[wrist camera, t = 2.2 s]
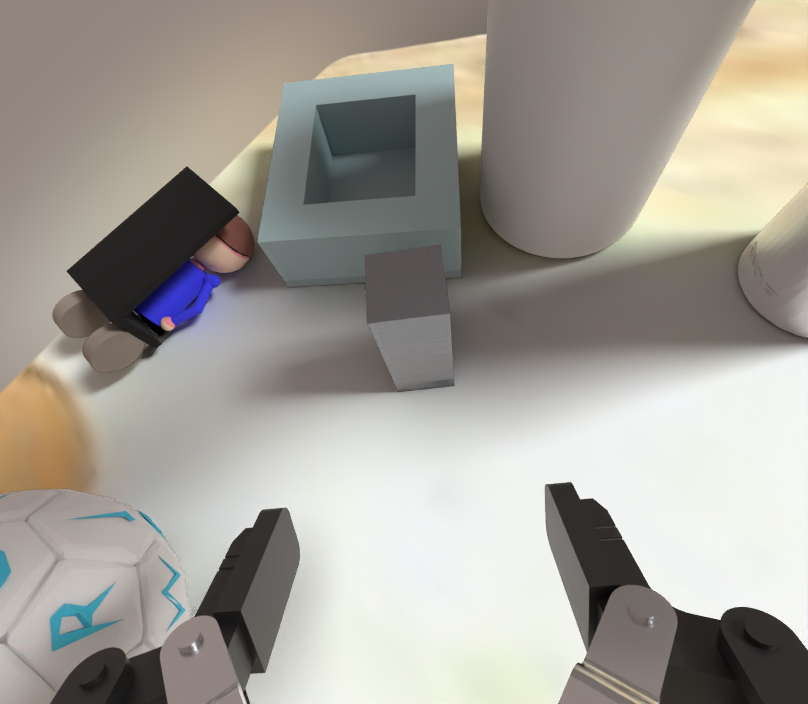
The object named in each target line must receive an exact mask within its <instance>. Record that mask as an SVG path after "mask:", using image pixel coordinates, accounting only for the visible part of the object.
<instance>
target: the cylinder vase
mask: <svg viewBox="0 0 808 704" xmlns="http://www.w3.org/2000/svg"><path fill="white" fill-rule="evenodd" d="M755 1H756V0H488V21H487V42H486V64H485V85H484V107H483V129H482V151H481V172H480V203H481V207H482V211H483V213H484V216H485V218H486V220H487V221H488V223H489V224H490V226H491V227H492V228H493V230H494V231H495V232H496V233H497V234H498V235H499V236H500V237H501V238H502V239H504V240H505V241H506V242H508V243H509V244H511V245H513V246H514V247H516V248H518V249H520V250H522V251H525V252H528V253H531V254H534V255H538V256H542V257H549V258H574V257H580V256H585V255H589V254H592V253H595V252H598V251H600V250H602V249H605V248H606V247H608V246H610V245H612V244H613V243H615V242H616V241H618V240H619V239H620V238H621V237H623V236H624V235H625V234H626V233H627V232H628V231H629V229H630V228H631V227H632V226H633V224H634V223H635V221H636V220H637V218H638V216H639V214H640V212H641V210H642V209H643V207H644V205H645V203H646V201H647V199H648V197H649V196H650V194H651V192H652V190H653V188H654V186H655V185H656V183H657V181H658V179H659V177H660V175H661V174H662V172H663V170H664V168H665V166H666V164H667V163H668V161H669V159H670V157H671V155H672V153H673V151H674V150H675V148H676V146H677V144H678V142H679V140H680V139H681V137H682V135H683V133H684V131H685V129H686V128H687V126H688V124H689V122H690V120H691V118H692V117H693V115H694V113H695V111H696V109H697V107H698V106H699V104H700V102H701V100H702V98H703V96H704V94H705V93H706V91H707V89H708V87H709V85H710V83H711V82H712V80H713V78H714V76H715V74H716V72H717V71H718V69H719V67H720V65H721V63H722V61H723V60H724V58H725V56H726V54H727V52H728V50H729V48H730V47H731V45H732V43H733V41H734V39H735V37H736V36H737V34H738V32H739V30H740V28H741V26H742V25H743V23H744V21H745V19H746V17H747V15H748V14H749V12H750V10H751V8H752V6H753V4H754V3H755Z"/></svg>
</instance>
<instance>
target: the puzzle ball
mask: <svg viewBox="0 0 808 704" xmlns="http://www.w3.org/2000/svg"><path fill="white" fill-rule="evenodd" d="M138 512H139V513H140V514H141V515H142V516H140V515H139V514H138V513H137V512H136V511H135V510H134V509H133V508H132V507H131V506H128V505H124V504H123V505H122V504H121V503H119V502H118V501H116V499H114V498H109V497H104V496H99V495H94V494H90V493H85V492H80V491H75V490H70V489H46V490H27V491H16V492H9V493H3V494H0V704H50V703H51V701H52V700H53V698H54V696H55V695H56V693H57V692H58V690H59V689H60V687H61V686H62V684H63V683H64V681H65V679H66V678H67V677H68V675H69V674H70V673H71V672H72V671H73V669H74V668H75V667H76V666H77V665H79V664H80V663H81V662H82V661H83V660H85V659H86V658H87V657H89V656H90V655H92V654H94V653H96V652H98V651H100V650H103V649H106V648H110V647H116V648H120V649H122V650H123V651H124V653H125V654H126V656H127V658H128V659H129V658H132V657H134V656H137V655H140V654H142V653H145V652H148V651H150V650H153V649H156V648H158V647H161V646H163V644H164V642H165V640H166V639H167V637H168V636H169V635H170V634H171V633H172V632H173V631H174V630H175V629H176V628H177V627H178V626H179V625H181V624H182V623H184V622H185V621H187V620H189V619H191V617H190V610H189V603H188V596H187V589H186V582H185V575H184V571H183V569H182V568H181V567H180V561H179V559H178V558H177V556H176V555H175V553H174V552H173V550H172V549H171V547H170V545H169V544H168V542H167V540H166V539H165V537H164V536H163V535H162V534H161V533H162V532H161V531H160V530H159V529H158V528H157V526H156V525H155V524H154V523H153V522H152V521H151V519H150V518H149V517H148V516H147V515H145V514H143V513H142V512H140V511H139V510H138Z"/></svg>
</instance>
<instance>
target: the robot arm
mask: <svg viewBox="0 0 808 704" xmlns="http://www.w3.org/2000/svg"><path fill="white" fill-rule="evenodd" d="M738 277H739V283H740V286H741V288H742V290H743V292H744V295H745V297H746V298H747V299H748V301H749V302H750V303H751V305H752V306H753V307H754V308H755V309H756V310H757V311H758V312H759V313H760V314H761V315H762V316H763V317H764V318H765V319H767V320H769V321H770V322H772V323H773V324H775V325H776V326H778V327H779V328H781V329H784V330H786V331H788V332H790V333H792V334H795V335H798V336H801V337H805V338H808V183H807V184H806V185H805V186H804V187H803V188H802V189H801V190H800V191H799V192H798V193H797V194H796V196H795V197H794V198H793V199H792V200H791V201H790V202H789V203H788V204H787V205H786V206H785V207H784V208H783V209H782V210H781V211H780V212H779V213H778V214H777V215H776V216H775V217H774V218H773V219H772V220H771V221H770V222H769V223H768V224H767V225H766V226H765V227H764V228H763V229H762V230H761V231H760V232H759V233H758V234H757V236H756V237H755V238H754V239H753V240H752V241H751V242H750V243H749V244H748V245H747V247H746V248H745V249H744V250H743V252H742V254H741V257H740V259H739V262H738ZM545 514H546V530H547V536H548V540H549V544H550V547H551V550H552V553H553V556H554V559H555V562H556V565H557V567H558V570H559V573H560V576H561V579H562V582H563V585H564V588H565V590H566V593H567V596H568V599H569V602H570V605H571V608H572V610H573V613H574V616H575V619H576V622H577V625H578V628H579V631H580V633H581V636H582V639H583V642H584V645H585V648H586V651H587V654H586V657H585V659H584V661H583V663H582V664H580V663H577V664H576V665H575V667H574V668H573V670H572V672H571V675H570V677H569V679H568V682H567V684H566V687H565V689H564V691H563V694H562V696H561V698H560V701H559V703H558V704H808V650H807V649H806V648H805V646H804V645H803V644H802V642H801V641H800V640H799V638H798V637H797V636H796V635H795V633H794V632H793V631H792V630H791V629H790V628H789V627H788V626H787V625H785V624H784V623H783V622H781V621H780V620H778V619H777V618H775V617H773V616H771V615H770V614H768V613H765V612H763V611H760V610H757V609H753V608H748V607H735V608H732V609H729V610H727V611H726V612H725V613H724V614H723V615H722V617H721V620H718V619H713V618H708V617H703V616H699V615H694V614H690V613H686V612H683V611H681V610H678V609H676V608H674V607H672V606H671V605H670V603H669V602H668V601H667V600H666V599H665V598H664V597H662V596H661V595H660V594H658V593H657V592H655V591H653V590H652V589H651V588H650V586H649V585H648V583H647V581H646V580H645V578H644V576H643V574H642V572H641V571H640V569H639V567H638V565H637V563H636V562H635V560H634V558H633V556H632V554H631V552H630V551H629V549H628V547H627V545H626V543H625V542H624V540H622V536H621V534H620V533H619V531H618V529H617V528H616V527H615V524H614V522H613V520H612V518H611V516H610V515H609V513H608V511H607V510H606V509H605V508H604V507H603V506H601V505H600V504H599V503H598V502H597V501H595V500H594V499H593V498H592V499H581V500H580V498H579V496H578V494H577V492H576V490H575V488H574V486H573V484H572V483H571V482H567V483H556V484H546V485H545ZM299 559H300V548H299V543H298V539H297V536H296V533H295V529H294V526H293V523H292V520H291V516H290V513H289V511H288V509H287V508H276V509H265V510H262V511H261V512H260V513H259V515H258V518H257V520H256V522H255V524H254V526H253V528H245V529H244V530H243V532H242V533H241V534H240V535H239V536H238V537H237V538H236V539H235V540H234V541H233V542H232V544H231V546H230V548H229V550H228V552H227V554H226V556H225V559H224V560H223V562H222V564H221V566H220V568H219V571H218V572H217V574H216V576H215V578H214V580H213V582H212V583H211V585H210V587H209V589H208V591H207V593H206V595H205V597H204V599H203V601H202V603H201V605H200V607H199V609H198V611H197V613H196V615H195V617H194V618H191V619H189V620H187V621H185V622H184V623H182V624H181V625H179V626H178V627H177V628H176V629H175V630H174V631H173V632H172V633H171V634H170V635H169V636H168V637H167V639H166V640H165V642H164V644H163V646H161V647H158V648H156V649H153V650H150V651H148V652H145V653H142V654H140V655H137V656H134V657H132V658H129V659H128V658H127V656H126V654H125V653H124V651H123V650H122V649H120V648H116V647H110V648H106V649H103V650H100V651H98V652H96V653H94V654H92V655H90V656H89V657H87V658H86V659H85V660H83V661H82V662H81V663H80V664H79V665H77V666H76V667H75V668H74V669H73V671H72V672H71V673H70V674H69V675H68V677H67V678H66V679H65V681H64V683H63V684H62V686H61V687H60V689H59V690H58V692H57V693H56V695H55V696H54V698H53V700H52V701H51V703H50V704H251V701H250V698H249V695H248V693H247V690H246V685H247V682H248V679H249V676H250V674H252V673H265V672H266V669H267V665H268V662H269V659H270V656H271V652H272V649H273V646H274V643H275V639H276V636H277V633H278V630H279V627H280V623H281V620H282V617H283V614H284V610H285V607H286V604H287V601H288V597H289V594H290V591H291V588H292V584H293V581H294V578H295V575H296V572H297V568H298V565H299Z"/></svg>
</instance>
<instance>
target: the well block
mask: <svg viewBox="0 0 808 704" xmlns="http://www.w3.org/2000/svg"><path fill="white" fill-rule="evenodd" d="M257 243H258V244H259V246H260V247H261V249H262V250H263V252H264V253H265V254H266V256H267V257H268V259H269V260H270V262H271V263H272V264H273V266H274V267H275V269H276V270H277V271H278V273H279V274H280V276H281V277H282V279H283V280H284V281H285V283H286V284H287V286H288V287H303V286H321V285H339V284H356V283H366V281H365V260H364V255H369V254H377V253H384V252H391V251H398V250H405V249H413V248H420V247H427V246H434V245H441V249H442V256H443V264H444V271H445V278H461V217H460V196H459V174H458V153H457V132H456V111H455V90H454V68H453V64H449V65H440V66H431V67H423V68H414V69H405V70H396V71H388V72H379V73H370V74H361V75H352V76H344V77H335V78H326V79H317V80H309V81H300V82H291V83H284V86H283V92H282V98H281V104H280V110H279V116H278V122H277V128H276V134H275V140H274V145H273V151H272V157H271V163H270V169H269V175H268V181H267V187H266V193H265V199H264V205H263V211H262V217H261V222H260V228H259V234H258V240H257Z"/></svg>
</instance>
